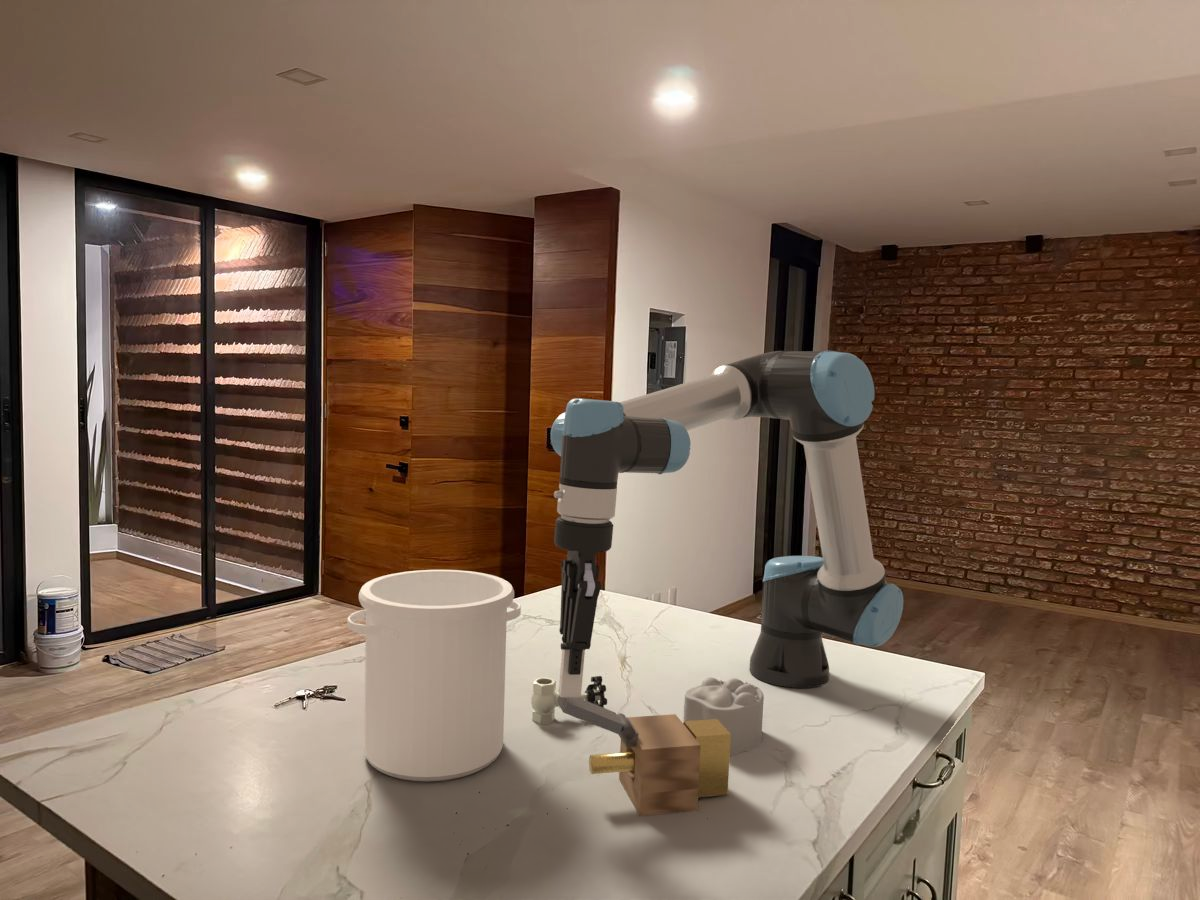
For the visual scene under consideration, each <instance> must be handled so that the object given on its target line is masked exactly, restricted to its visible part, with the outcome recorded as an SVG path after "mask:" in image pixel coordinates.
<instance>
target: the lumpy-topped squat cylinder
mask: <svg viewBox="0 0 1200 900" xmlns="http://www.w3.org/2000/svg"><path fill="white" fill-rule="evenodd" d="M764 699H765V696H764V692H763V690H761V688H759V687H758V686H756V685H753V684H751V683H748V682H747V681H746V682H743V680H741V679H738V678H729V679H728V680H726V681H723V680H721V679H720V680H718V679H717V678H716V677H712V676H711V677H707V678H705V679H704V680H703V681H702V682H701V684H700V685H697V686H694V687H692V688H691V687H690V688H689V689H686V691H685V693H684V702H683V703H684V705H683V722H682V723H684V721H695V720H709V719H717V720H718V721H719V722H720V723H721V724H722V725H723V726H724V727H725V728H726V729H727V730H728V732H729V733H730V734H731V740H730V756H732V755H733V756H734V755H737V754H740V753H742V752H743V753H744V752H746V751H749V750H751V749H754V748H756V747H758V745H760V743H761V741H762V733H763V731H762V730H763V718H764V716H763V715H764V701H765V700H764Z"/></svg>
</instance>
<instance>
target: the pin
mask: <svg viewBox="0 0 1200 900" xmlns="http://www.w3.org/2000/svg"><path fill="white" fill-rule="evenodd" d="M683 721H684V720H683ZM682 723H683V722H682ZM683 724H684V725H685V726H686V728H687V729H688V730H689V731H690V733H691V734H692V735H693V736H694V738H695V739H696V740H697V741H698V742H699V744H700V745H701V748H700V767H699V786H698V798H703V797H715V796H727V795H728V793H729V789H728V788H729V776H730V775H729V773H730V757H731V755H730V740H731V734H730V733H729V732H728V730H727V729H726V728H725V727H724V726H723V725H722V724H721V723H720V722H719V721H718V720H717V719H709V720H695V721H684V723H683ZM588 758H589V759H588V767H589V772H590V775H597V774H599V775H600V774H609V773H612V774H613V773H619V772H624V771H634V770H635V753H634V752H624V753H620V752H616V753H615V752H613V753H600V754H599V753H598V754H590V755H589V757H588Z"/></svg>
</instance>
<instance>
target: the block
mask: <svg viewBox="0 0 1200 900" xmlns="http://www.w3.org/2000/svg"><path fill="white" fill-rule="evenodd" d="M616 714H617V716H618V717H619V719H620V720H621V722H622V723H623V727H622V729H621V731H620V733H619V734H617V735H618V736H619V738H620V747H619V748H620V749H619V750H620V751H619V753H624V752H634V753H635V770H634V771H624V772H618V780H619V781H620V783H621V785H622V787H623V790H625V792H626V795H627V796H628V798H629V800H630V801H631V803H632V805H633V807H634V809H635V811H636V813H637V814H638V816H639V817H643V816H653V815H661V814H662V815H663V814H664V815H665V814H672V813H683V812H684V813H685V812H693V811H694V812H696V811H698V803H699V797H698V786H699V767H700V748H701V745H700V744H699V742H698V741H697V740H696V739H695V738H694V736H693V735H692V734H691V733H690V731H689V730H688V729H687V728H686V726H685V725H684V724H683V722H682V720H681V719H680V718H679V717H678V716H677V714H675V713H674V714H673V713H672V714H671V713H670V714H661V715H660V714H659V715H645V716H643V715H642V716H629V717H626V715H625V714H624V713H622V712H621V713H620V712H619V713H616Z"/></svg>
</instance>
